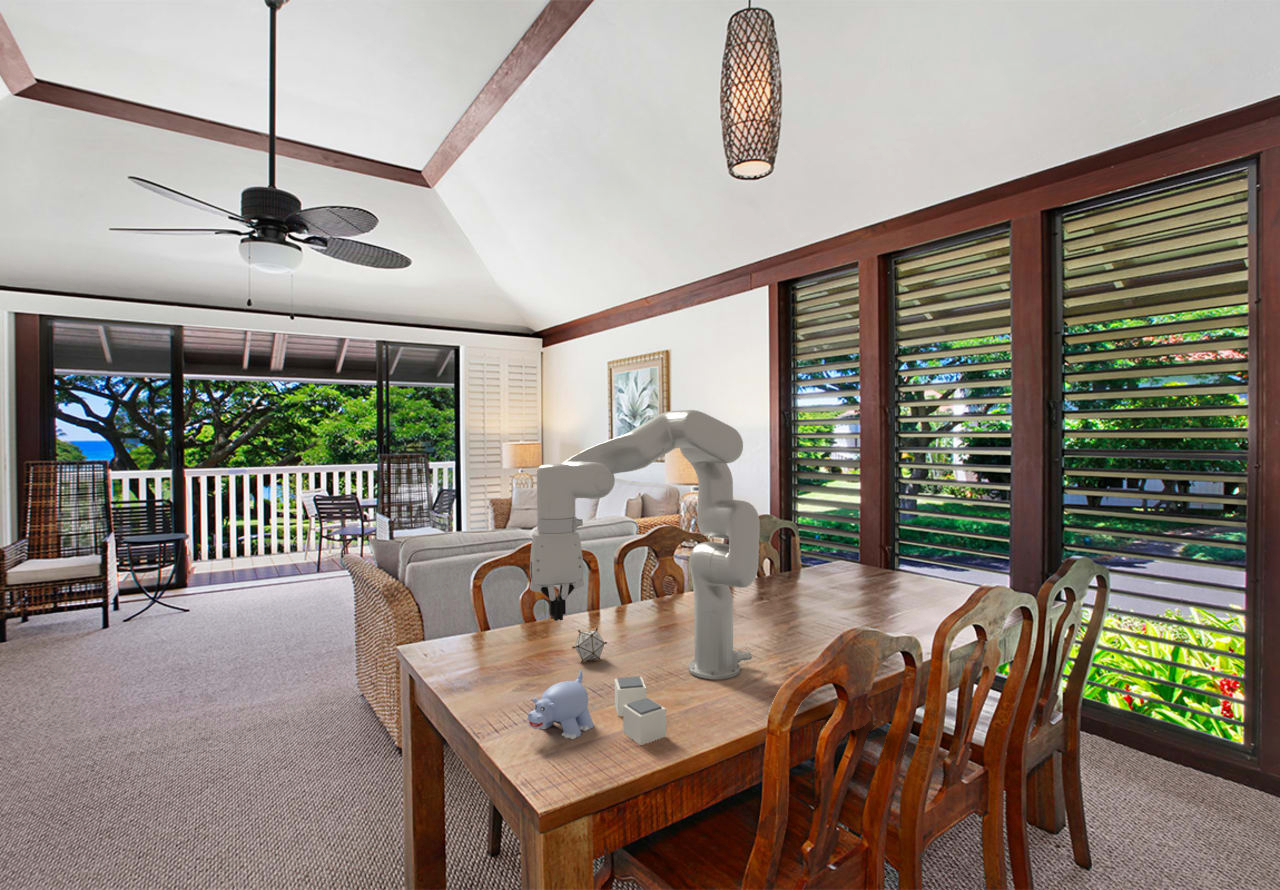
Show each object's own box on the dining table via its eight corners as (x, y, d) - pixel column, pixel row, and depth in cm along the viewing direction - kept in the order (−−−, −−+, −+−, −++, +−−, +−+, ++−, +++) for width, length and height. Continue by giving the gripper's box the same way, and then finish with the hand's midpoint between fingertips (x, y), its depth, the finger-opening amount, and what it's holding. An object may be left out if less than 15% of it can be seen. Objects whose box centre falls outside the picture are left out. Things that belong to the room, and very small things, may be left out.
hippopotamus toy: (512, 738, 121) (511, 689, 121) (563, 709, 133) (562, 665, 133) (554, 753, 115) (553, 701, 115) (603, 721, 127) (602, 675, 127)
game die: (594, 676, 160) (600, 653, 154) (565, 663, 162) (569, 640, 156) (608, 650, 167) (614, 627, 162) (579, 637, 169) (584, 614, 163)
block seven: (648, 725, 125) (648, 695, 125) (666, 737, 120) (665, 706, 120) (623, 733, 122) (622, 703, 122) (640, 746, 117) (640, 714, 117)
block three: (642, 702, 136) (641, 675, 136) (646, 714, 130) (646, 685, 130) (614, 704, 135) (614, 677, 135) (618, 716, 129) (617, 688, 129)
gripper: (588, 522, 129) (589, 610, 129) (515, 525, 124) (516, 617, 124) (598, 526, 122) (598, 620, 122) (521, 531, 117) (522, 628, 117)
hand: (557, 618), depth 123 cm, fingers closed
